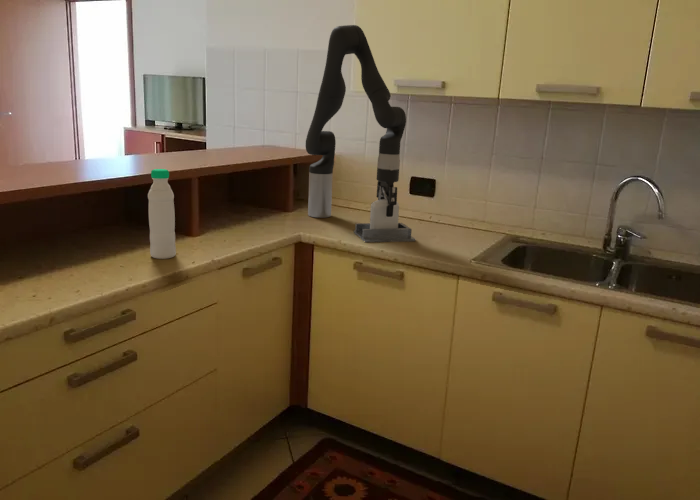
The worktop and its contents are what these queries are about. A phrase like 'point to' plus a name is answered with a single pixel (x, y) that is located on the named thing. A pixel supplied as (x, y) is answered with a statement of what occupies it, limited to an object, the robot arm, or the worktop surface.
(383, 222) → the photo printer
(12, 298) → the worktop surface
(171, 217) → the water bottle
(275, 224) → the worktop surface
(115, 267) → the worktop surface
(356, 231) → the bracket
